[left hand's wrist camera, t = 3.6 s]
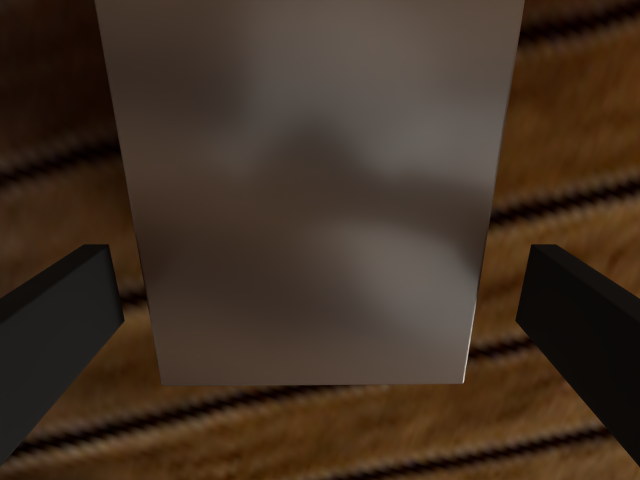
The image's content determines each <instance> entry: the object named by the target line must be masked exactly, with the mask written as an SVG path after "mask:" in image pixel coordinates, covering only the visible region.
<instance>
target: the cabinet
mask: <svg viewBox="0 0 640 480" xmlns="http://www.w3.org/2000/svg"><path fill="white" fill-rule="evenodd" d="M94 1H95V7H96V13H97V18H98V24H99V30H100V35H101V41H102V47H103V52H104V58H105V64H106V69H107V75H108V81H109V86H110V92H111V98H112V104H113V109H114V115H115V121H116V126H117V132H118V138H119V143H120V149H121V155H122V160H123V166H124V172H125V177H126V183H127V189H128V195H129V200H130V206H131V212H132V217H133V223H134V229H135V234H136V240H137V246H138V251H139V257H140V263H141V268H142V274H143V280H144V286H145V291H146V297H147V303H148V308H149V314H150V320H151V325H152V331H153V337H154V342H155V348H156V354H157V359H158V365H159V371H160V376H161V382H162V385H163V386H234V385H381V384H463V383H464V378H465V371H466V365H467V359H468V353H469V346H470V340H471V334H472V327H473V321H474V315H475V309H476V302H477V296H478V290H479V284H480V277H481V271H482V265H483V258H484V252H485V246H486V240H487V233H488V227H489V221H490V215H491V208H492V202H493V196H494V189H495V183H496V177H497V171H498V164H499V158H500V152H501V146H502V139H503V133H504V127H505V120H506V114H507V108H508V102H509V95H510V89H511V83H512V77H513V70H514V64H515V58H516V51H517V45H518V39H519V33H520V26H521V20H522V14H523V8H524V1H525V0H94Z"/></svg>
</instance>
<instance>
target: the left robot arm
mask: <svg viewBox="0 0 640 480" xmlns="http://www.w3.org/2000/svg"><path fill="white" fill-rule="evenodd" d="M124 321H125V320H124V316H123V311H122V306H121V301H120V296H119V292H118V287H117V282H116V277H115V273H114V268H113V263H112V258H111V254H110V249H109V244H84V245H82V246H81V247H79V248H78V249H76V250H75V251H73V252H72V253H70V254H69V255H67V256H65V257H64V258H62V259H61V260H59V261H58V262H56V263H55V264H53V265H52V266H50V267H48V268H47V269H45V270H44V271H42V272H41V273H39V274H38V275H36V276H35V277H33V278H32V279H30V280H28V281H27V282H25V283H24V284H22V285H21V286H19V287H18V288H16V289H15V290H13V291H12V292H10V293H8V294H7V295H5V296H4V297H2V298H1V299H0V467H1V465H2V464H3V463H4V462H5V461H6V460H7V458H8V457H9V456H10V455H11V454H12V453H13V451H14V450H15V449H16V448H17V447H18V445H19V444H20V443H21V442H22V441H23V440H24V438H25V437H26V436H27V435H28V434H29V433H30V431H31V430H32V429H33V428H34V427H35V425H36V424H37V423H38V422H39V421H40V420H41V418H42V417H43V416H44V415H45V414H46V413H47V411H48V410H49V409H50V408H51V407H52V406H53V404H54V403H55V402H56V401H57V400H58V398H59V397H60V396H61V395H62V394H63V393H64V391H65V390H66V389H67V388H68V387H69V386H70V384H71V383H72V382H73V381H74V380H75V378H76V377H77V376H78V375H79V374H80V373H81V371H82V370H83V369H84V368H85V367H86V366H87V364H88V363H89V362H90V361H91V360H92V359H93V357H94V356H95V355H96V354H97V353H98V351H99V350H100V349H101V348H102V347H103V346H104V344H105V343H106V342H107V341H108V340H109V339H110V337H111V336H112V335H113V334H114V333H115V332H116V330H117V329H118V328H119V327H120V326H121V324H122V323H123V322H124ZM515 321H516V322H517V323H518V324H519V326H520V327H521V328H522V329H523V330H524V332H525V333H526V334H527V335H528V336H529V337H530V339H531V340H532V341H533V342H534V343H535V344H536V346H537V347H538V348H539V349H540V350H541V351H542V353H543V354H544V355H545V356H546V357H547V359H548V360H549V361H550V362H551V363H552V364H553V366H554V367H555V368H556V369H557V370H558V371H559V373H560V374H561V375H562V376H563V377H564V378H565V380H566V381H567V382H568V383H569V384H570V386H571V387H572V388H573V389H574V390H575V391H576V393H577V394H578V395H579V396H580V397H581V398H582V400H583V401H584V402H585V403H586V404H587V406H588V407H589V408H590V409H591V410H592V411H593V413H594V414H595V415H596V416H597V417H598V418H599V420H600V421H601V422H602V423H603V424H604V425H605V427H606V428H607V429H608V430H609V431H610V433H611V434H612V435H613V436H614V437H615V438H616V440H617V441H618V442H619V443H620V444H621V445H622V447H623V448H624V449H625V450H626V451H627V453H628V454H629V455H630V456H631V457H632V458H633V460H634V461H635V462H636V463H637V464H638V465H639V467H640V299H639V298H638V297H636V296H635V295H633V294H632V293H630V292H628V291H627V290H625V289H624V288H622V287H621V286H619V285H618V284H616V283H615V282H613V281H612V280H610V279H608V278H607V277H605V276H604V275H602V274H601V273H599V272H598V271H596V270H595V269H593V268H592V267H590V266H588V265H587V264H585V263H584V262H582V261H581V260H579V259H578V258H576V257H575V256H573V255H571V254H570V253H568V252H567V251H565V250H564V249H562V248H561V247H559V246H558V245H556V244H531V249H530V254H529V258H528V263H527V268H526V273H525V277H524V282H523V287H522V292H521V296H520V301H519V306H518V311H517V316H516V320H515Z"/></svg>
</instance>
